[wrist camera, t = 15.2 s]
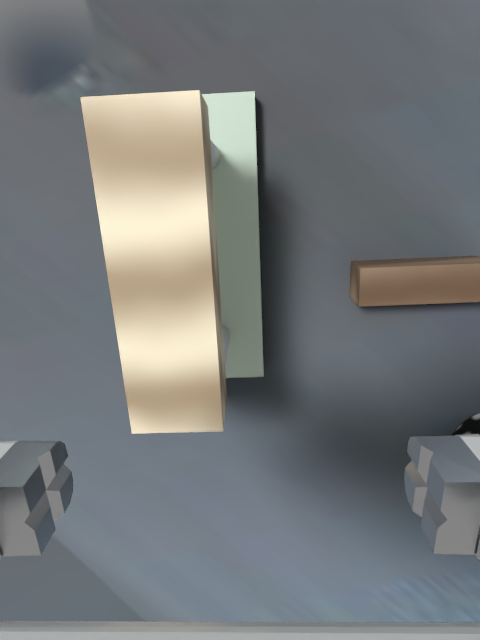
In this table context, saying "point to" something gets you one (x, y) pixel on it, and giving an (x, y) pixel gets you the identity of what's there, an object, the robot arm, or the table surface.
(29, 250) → the table surface
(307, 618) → the table surface
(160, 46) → the table surface
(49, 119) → the table surface
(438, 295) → the riser
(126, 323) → the plank
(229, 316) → the peg stand
